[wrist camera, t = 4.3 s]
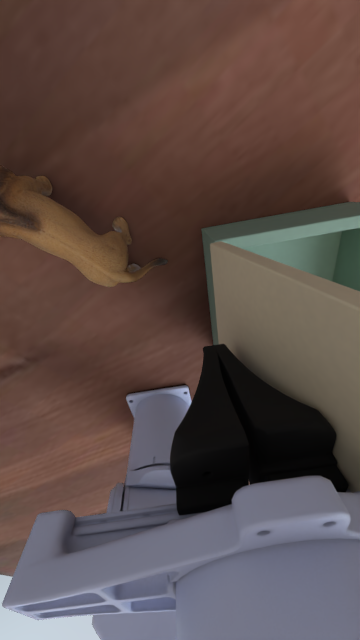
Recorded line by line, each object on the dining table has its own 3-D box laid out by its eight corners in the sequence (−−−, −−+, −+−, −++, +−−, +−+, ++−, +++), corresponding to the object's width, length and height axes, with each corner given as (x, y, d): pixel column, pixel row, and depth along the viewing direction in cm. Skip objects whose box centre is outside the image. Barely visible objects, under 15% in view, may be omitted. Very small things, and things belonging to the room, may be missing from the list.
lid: (825, 456, 2) (773, 489, 2) (388, 641, 8) (370, 651, 8) (221, 240, 13) (209, 243, 13) (230, 386, 20) (222, 388, 20)
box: (350, 201, 18) (419, 204, 13) (324, 327, 25) (365, 361, 20) (201, 228, 19) (214, 240, 14) (213, 345, 25) (225, 383, 20)
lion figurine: (-15, 224, 18) (-156, 247, 10) (-16, 147, 15) (-203, 99, 8) (158, 284, 21) (153, 337, 13) (178, 229, 19) (187, 254, 11)
